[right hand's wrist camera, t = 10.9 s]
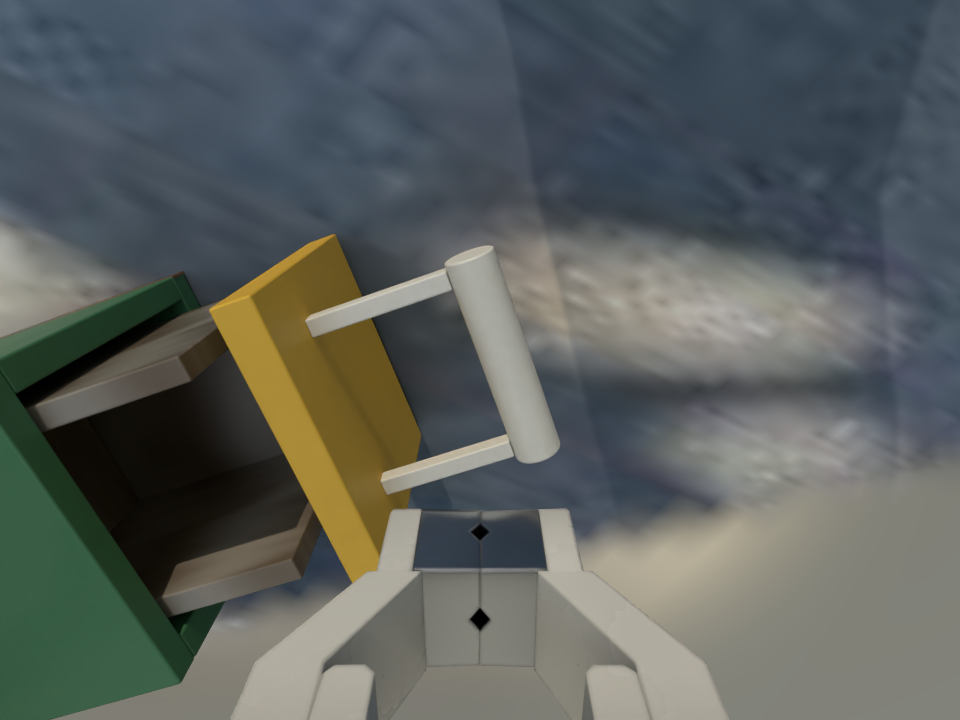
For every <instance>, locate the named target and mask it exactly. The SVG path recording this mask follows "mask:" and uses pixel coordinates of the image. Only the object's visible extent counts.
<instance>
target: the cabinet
mask: <svg viewBox="0 0 960 720" xmlns="http://www.w3.org/2000/svg"><path fill="white" fill-rule="evenodd" d="M183 274H184V273H183V271H182V272H179V273H176V274H173V275H171V276H168V277H165V278H163V279H160V280H157V281H154V282H152V283H149V284H146V285H143V286H141V287H138V288H135V289H133V290H130V291H127V292H124V293H122V294H119V295H116V296H113V297H111V298H108V299H105V300H103V301H100V302H97V303H94V304H92V305H89V306H86V307H83V308H81V309H78V310H75V311H72V312H70V313H67V314H64V315H62V316H59V317H56V318H53V319H51V320H48V321H45V322H42V323H40V324H37V325H34V326H32V327H29V328H26V329H23V330H21V331H18V332H15V333H12V334H10V335H7V336H4V337H2V338H0V720H51V719H54V718H58V717H62V716H65V715H69V714H72V713H76V712H80V711H83V710H87V709H90V708H94V707H98V706H101V705H105V704H108V703H112V702H116V701H119V700H123V699H126V698H130V697H134V696H137V695H141V694H144V693H148V692H152V691H155V690H159V689H162V688H166V687H170V686H173V685H177V684H180V683H181V682H182V680H183V678H184V676H185V674H186V673H187V671H188V669H189V667H190V665H191V663H192V662H193V660H194V656H196V654H197V652H198V651H199V649H200V647H201V645H202V643H203V641H204V639H205V638H206V636H207V634H208V632H209V630H210V628H211V626H212V625H213V623H214V621H215V619H216V617H217V615H218V613H219V612H220V610H221V608H222V606H223V604H224V602H225V601H223V602H219V603H216V604H213V605H209V606H206V607H202V608H199V609H195V610H192V611H189V612H185V613H182V614H178V615H175V616H172V617H168V618H167V617H166V615H165V614H164V612H163V611H162V609H161V608H160V606H159V605H158V603H157V602H156V601H155V599H154V598H153V596H152V595H151V593H150V592H149V590H148V589H147V587H146V586H145V584H144V583H143V581H142V580H141V578H140V577H139V575H138V574H137V573H136V571H135V570H134V568H133V567H132V565H131V564H130V562H129V561H128V559H127V558H126V556H125V555H124V553H123V552H122V550H121V549H120V548H119V546H118V545H117V543H116V542H115V540H114V539H113V537H112V536H111V534H110V533H109V531H108V530H107V528H106V527H105V525H104V524H103V522H102V521H101V520H100V518H99V517H98V515H97V514H96V512H95V511H94V509H93V508H92V506H91V505H90V503H89V502H88V500H87V499H86V497H85V496H84V494H83V493H82V492H81V490H80V489H79V487H78V486H77V484H76V483H75V481H74V480H73V478H72V477H71V475H70V474H69V472H68V471H67V469H66V468H65V466H64V465H63V464H62V462H61V461H60V459H59V458H58V456H57V455H56V453H55V452H54V450H53V449H52V447H51V446H50V444H49V443H48V441H47V440H46V438H45V437H44V436H43V434H42V433H41V431H40V430H39V428H38V427H37V425H36V424H35V422H34V421H33V419H32V418H31V416H30V415H29V413H28V412H27V410H26V409H25V408H24V406H23V405H22V403H21V402H20V400H19V399H18V397H17V396H16V394H17V393H18V392H20V391H22V390H24V389H25V388H27V387H29V386H31V385H33V384H34V383H36V382H38V381H40V380H41V379H43V378H45V377H47V376H48V375H50V374H52V373H54V372H55V371H57V370H59V369H61V368H62V367H64V366H66V365H68V364H70V363H71V362H73V361H75V360H77V359H78V358H80V357H82V356H84V355H85V354H87V353H89V352H91V351H92V350H94V349H96V348H98V347H99V346H101V345H103V344H105V343H107V342H108V341H110V340H112V339H114V338H116V337H119V336H122V335H125V334H128V333H130V332H133V331H136V330H139V329H142V328H144V327H147V326H150V325H153V324H156V323H158V322H161V321H164V320H167V319H170V318H172V317H175V316H178V315H181V314H184V313H186V312H189V311H192V310H195V309H198V308H200V305H199V303H198V301H197V299H196V298H195V296H194V294H193V292H192V290H191V288H190V286H189V284H188V282H187V281H186V279H185V277H184V275H183Z"/></svg>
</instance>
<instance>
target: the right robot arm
mask: <svg viewBox="0 0 960 720" xmlns="http://www.w3.org/2000/svg"><path fill="white" fill-rule="evenodd" d="M476 665H483V666H518V667H534V670H535V672H536V673H537V674H538V676H539V677H540V678H541V680H542V681H543V683H544V684H545V685H546V687H547V688H548V689H549V691H550V692H551V693H552V695H553V696H554V698H555V699H556V700H557V702H558V703H559V704H560V706H561V707H562V708H563V710H564V711H565V713H566V714H567V715H568V717H569V718H570V719H571V720H730V718H729V716H728V713H727V711H726V709H725V706H724V704H723V701H722V699H721V697H720V694H719V692H718V690H717V687H716V685H715V683H714V680H713V678H712V676H711V673H710V671H709V669H708V666H707V664H706V662H704V661H703V660H702V659H701V658H699V657H698V656H697V655H696V654H694V653H693V652H692V651H691V650H689V649H688V648H687V647H686V646H684V645H683V644H682V643H681V642H680V641H678V640H677V639H676V638H675V637H673V636H672V635H671V634H670V633H668V632H667V631H666V630H665V629H663V628H662V627H661V626H660V625H658V624H657V623H656V622H655V621H653V620H652V619H651V618H650V617H649V616H647V615H646V614H645V613H644V612H642V611H641V610H640V609H639V608H637V607H636V606H635V605H634V604H632V603H631V602H630V601H629V600H627V599H626V598H625V597H624V596H623V595H621V594H620V593H619V592H618V591H616V590H615V589H614V588H613V587H611V586H610V585H609V584H608V583H606V582H605V581H604V580H603V579H601V578H600V577H599V576H598V575H596V574H595V573H594V572H593V571H583V566H582V562H581V558H580V554H579V550H578V546H577V542H576V537H575V533H574V529H573V525H572V521H571V517H570V513H569V511H568V510H567V509H566V508H563V509H538V510H504V511H480V510H450V509H423V510H421V509H393V510H392V512H391V513H390V516H389V520H388V524H387V529H386V533H385V537H384V541H383V545H382V550H381V554H380V558H379V562H378V566H377V571H367V572H366V573H365V574H364V575H362V576H361V577H360V578H359V579H357V580H356V581H355V582H354V583H352V584H351V585H350V586H349V587H347V588H346V589H345V590H344V591H342V592H341V593H340V594H339V595H337V596H336V597H335V598H334V599H332V600H331V601H330V602H329V603H327V604H326V605H325V606H324V607H322V608H321V609H320V610H319V611H317V612H316V613H315V614H314V615H312V616H311V617H310V618H309V619H307V620H306V621H305V622H304V623H302V624H301V625H300V626H299V627H298V628H296V629H295V630H294V631H293V632H291V633H290V634H289V635H288V636H286V637H285V638H284V639H283V640H281V641H280V642H279V643H278V644H276V645H275V646H274V647H273V648H271V649H270V650H269V651H268V652H266V653H265V654H264V655H263V656H261V657H260V658H259V659H258V660H256V661H255V662H254V665H253V667H252V669H251V672H250V674H249V676H248V679H247V681H246V683H245V685H244V688H243V690H242V692H241V695H240V697H239V699H238V702H237V704H236V706H235V709H234V711H233V713H232V716H231V718H230V720H390V718H391V717H392V716H393V714H394V713H395V712H396V710H397V709H398V708H399V706H400V705H401V704H402V702H403V701H404V699H405V698H406V697H407V695H408V694H409V693H410V691H411V690H412V688H413V687H414V686H415V685H416V683H417V682H418V680H419V679H420V678H421V676H422V675H423V674H424V672H425V671H426V667H441V666H476Z"/></svg>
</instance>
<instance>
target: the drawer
mask: <svg viewBox="0 0 960 720" xmlns="http://www.w3.org/2000/svg"><path fill="white" fill-rule="evenodd" d="M452 287H453V290H454V292H455V295H456V298H457V300H458V303H459V306H460V309H461V311H462V314H463V317H464V319H465V322H466V325H467V327H468V330H469V333H470V335H471V338H472V341H473V343H474V346H475V349H476V351H477V354H478V357H479V359H480V362H481V365H482V368H483V370H484V373H485V376H486V378H487V381H488V384H489V386H490V389H491V392H492V394H493V397H494V400H495V402H496V405H497V408H498V410H499V413H500V416H501V418H502V421H503V424H504V427H505V429H506V432H507V434H506V435H502V436H499V437H496V438H493V439H489V440H486V441H483V442H480V443H477V444H473V445H470V446H467V447H464V448H460V449H457V450H454V451H451V452H447V453H444V454H441V455H438V456H435V457H431V458H428V459H425V460H422V461H418V462H416V460H417V455H418V450H419V444H420V439H421V433H420V430H419V428H418V426H417V423H416V421H415V419H414V416H413V414H412V412H411V409H410V407H409V405H408V402H407V400H406V398H405V395H404V393H403V391H402V388H401V386H400V384H399V381H398V379H397V377H396V374H395V372H394V370H393V367H392V365H391V363H390V360H389V358H388V356H387V354H386V351H385V349H384V347H383V344H382V342H381V340H380V337H379V335H378V333H377V330H376V328H375V326H374V323H373V321H372V319H371V318H373V317H376V316H378V315H381V314H384V313H387V312H390V311H393V310H396V309H399V308H402V307H405V306H408V305H411V304H413V303H416V302H419V301H422V300H425V299H428V298H431V297H434V296H437V295H440V294H443V293H446V292H449V291H451V290H452ZM16 396H17V397H18V399H19V400H20V402H21V403H22V405H23V406H24V408H25V409H26V410H27V412H28V413H29V415H30V416H31V418H32V419H33V421H34V422H35V424H36V425H37V427H38V428H39V430H40V431H41V433H42V434H43V436H44V437H45V438H46V440H47V441H48V443H49V444H50V446H51V447H52V449H53V450H54V452H55V453H56V455H57V456H58V458H59V459H60V461H61V462H62V464H63V465H64V466H65V468H66V469H67V471H68V472H69V474H70V475H71V477H72V478H73V480H74V481H75V483H76V484H77V486H78V487H79V489H80V490H81V492H82V493H83V494H84V496H85V497H86V499H87V500H88V502H89V503H90V505H91V506H92V508H93V509H94V511H95V512H96V514H97V515H98V517H99V518H100V520H101V521H102V522H103V524H104V525H105V527H106V528H107V530H108V531H109V533H110V534H111V536H112V537H113V539H114V540H115V542H116V543H117V545H118V546H119V548H120V549H121V550H122V552H123V553H124V555H125V556H126V558H127V559H128V561H129V562H130V564H131V565H132V567H133V568H134V570H135V571H136V573H137V574H138V575H139V577H140V578H141V580H142V581H143V583H144V584H145V586H146V587H147V589H148V590H149V592H150V593H151V595H152V596H153V598H154V599H155V601H156V602H157V603H158V605H159V606H160V608H161V609H162V611H163V612H164V614H165V615H166V617H167V618H168V617H172V616H175V615H178V614H182V613H185V612H189V611H192V610H195V609H199V608H202V607H206V606H209V605H213V604H216V603H219V602H223V601H226V600H230V599H233V598H236V597H240V596H243V595H247V594H250V593H254V592H257V591H260V590H264V589H267V588H271V587H274V586H277V585H281V584H284V583H288V582H291V581H295V580H298V579H301V578H302V577H303V575H304V572H305V570H306V567H307V565H308V562H309V560H310V557H311V554H312V552H313V549H314V547H315V544H316V542H317V539H318V537H319V534H320V532H321V529H322V527H323V528H324V530H325V532H326V534H327V536H328V538H329V540H330V542H331V544H332V546H333V547H334V549H335V551H336V553H337V555H338V557H339V559H340V561H341V563H342V565H343V566H344V568H345V570H346V572H347V574H348V576H349V578H350V580H351V582H352V583H354V582H355V581H356V580H357V579H359V578H360V577H361V576H362V575H364V574H365V573H366V572H367V571H377V566H378V562H379V558H380V554H381V550H382V545H383V541H384V537H385V533H386V529H387V524H388V520H389V516H390V513H391V512H392V510H393V509H407V507H408V502H409V497H410V492H411V488H412V487H415V486H419V485H422V484H425V483H429V482H432V481H435V480H438V479H442V478H445V477H448V476H451V475H455V474H458V473H461V472H465V471H468V470H471V469H474V468H478V467H481V466H484V465H488V464H491V463H494V462H497V461H501V460H504V459H507V458H511V457H513V456H514V453H515V456H516V458H517V459H518V460H519V461H520V462H523V463H537V462H541V461H544V460H546V459H548V458H550V457H551V456H553V455H554V454H555V453H556V452H557V451H558V450H559V447H560V440H559V438H558V435H557V432H556V429H555V426H554V423H553V420H552V417H551V414H550V411H549V408H548V405H547V402H546V399H545V396H544V393H543V390H542V388H541V385H540V382H539V379H538V376H537V373H536V370H535V367H534V364H533V361H532V358H531V355H530V352H529V349H528V346H527V343H526V340H525V338H524V335H523V332H522V329H521V326H520V323H519V320H518V317H517V314H516V311H515V308H514V305H513V302H512V299H511V296H510V293H509V290H508V288H507V285H506V282H505V279H504V276H503V273H502V270H501V267H500V264H499V261H498V258H497V255H496V252H495V249H494V247H493V246H481V247H477V248H474V249H470V250H468V251H465V252H462V253H460V254H458V255H456V256H454V257H452V258H450V259H449V260H447V261H446V262H445V268H444V269H441V270H438V271H435V272H433V273H430V274H427V275H424V276H421V277H418V278H415V279H412V280H410V281H407V282H404V283H401V284H398V285H395V286H392V287H389V288H387V289H384V290H381V291H378V292H375V293H372V294H369V295H366V296H364V297H362V295H361V293H360V291H359V288H358V286H357V284H356V281H355V279H354V277H353V274H352V272H351V270H350V267H349V265H348V263H347V260H346V258H345V256H344V253H343V251H342V249H341V246H340V244H339V242H338V239H337V237H336V235H335V234H333V235H330V236H327V237H324V238H322V239H319V240H316V241H313V242H310V243H309V244H307V245H305V246H304V247H302V248H301V249H299V250H298V251H296V252H295V253H293V254H292V255H290V256H289V257H287V258H286V259H284V260H283V261H281V262H280V263H278V264H277V265H275V266H274V267H272V268H271V269H269V270H268V271H266V272H265V273H263V274H261V275H260V276H258V277H257V278H255V279H254V280H252V281H251V282H249V283H248V284H246V285H245V286H243V287H242V288H240V289H239V290H237V291H236V292H234V293H233V294H231V295H230V296H228V297H227V298H225V299H223V300H220V301H217V302H214V303H212V304H209V305H206V306H203V307H200V308H198V309H195V310H192V311H189V312H186V313H184V314H181V315H178V316H175V317H172V318H170V319H167V320H164V321H161V322H158V323H156V324H153V325H150V326H147V327H144V328H142V329H139V330H136V331H133V332H130V333H128V334H125V335H122V336H119V337H116V338H114V339H112V340H110V341H108V342H107V343H105V344H103V345H101V346H99V347H98V348H96V349H94V350H92V351H91V352H89V353H87V354H85V355H84V356H82V357H80V358H78V359H77V360H75V361H73V362H71V363H70V364H68V365H66V366H64V367H62V368H61V369H59V370H57V371H55V372H54V373H52V374H50V375H48V376H47V377H45V378H43V379H41V380H40V381H38V382H36V383H34V384H33V385H31V386H29V387H27V388H25V389H24V390H22V391H20V392H18V393H17V394H16Z"/></svg>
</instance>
